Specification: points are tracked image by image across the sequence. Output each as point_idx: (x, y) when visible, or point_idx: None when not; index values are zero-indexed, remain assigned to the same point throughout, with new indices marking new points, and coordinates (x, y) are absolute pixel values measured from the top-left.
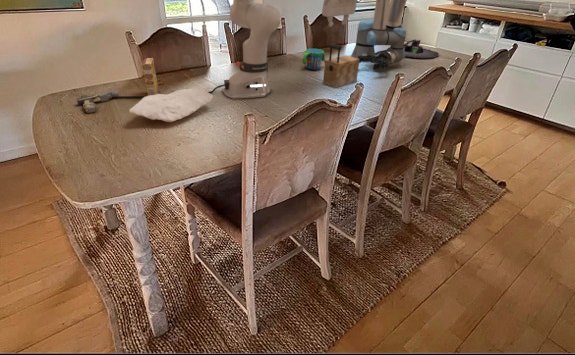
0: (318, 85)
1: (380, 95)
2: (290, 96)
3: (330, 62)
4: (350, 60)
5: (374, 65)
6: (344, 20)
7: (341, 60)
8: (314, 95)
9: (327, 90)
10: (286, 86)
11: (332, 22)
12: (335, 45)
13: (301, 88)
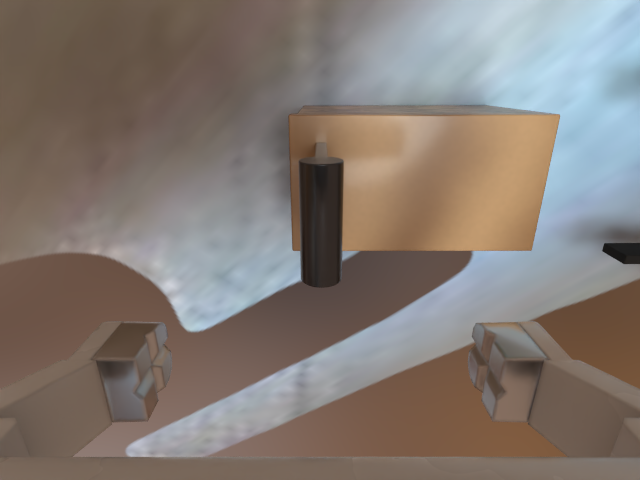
0: (248, 124)
1: (382, 374)
2: (13, 160)
3: (290, 180)
4: (445, 237)
5: (621, 260)
6: (535, 393)
7: (392, 200)
8: (131, 218)
9: (234, 208)
10: (69, 18)
11: (106, 426)
12: (307, 238)
13: (131, 103)
